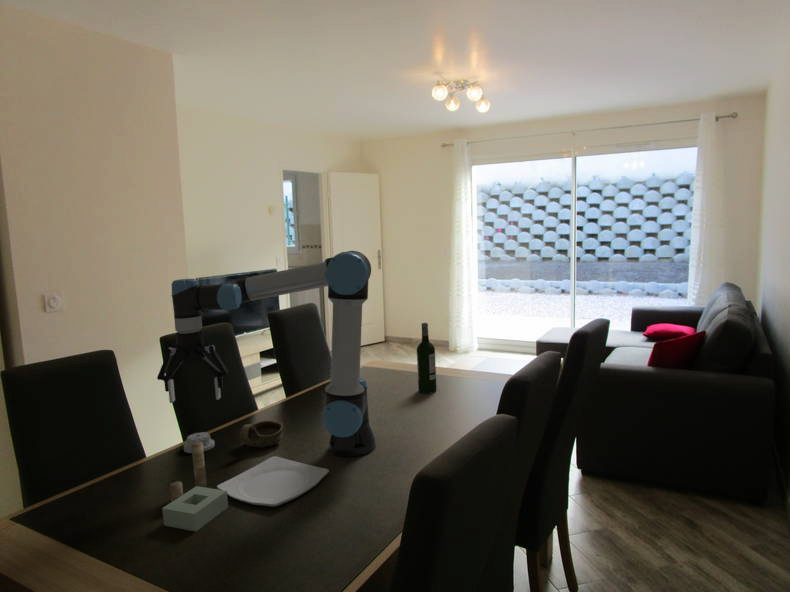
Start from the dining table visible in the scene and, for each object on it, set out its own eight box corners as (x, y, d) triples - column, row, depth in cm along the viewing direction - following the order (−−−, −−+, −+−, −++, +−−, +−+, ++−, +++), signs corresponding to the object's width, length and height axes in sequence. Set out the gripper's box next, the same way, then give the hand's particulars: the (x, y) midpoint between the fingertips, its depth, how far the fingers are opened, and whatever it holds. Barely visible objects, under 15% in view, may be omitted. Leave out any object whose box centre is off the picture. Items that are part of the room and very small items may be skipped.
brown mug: (293, 439, 185) (290, 411, 184) (260, 459, 169) (257, 429, 168) (261, 435, 191) (259, 408, 190) (227, 454, 175) (224, 425, 174)
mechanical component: (177, 453, 178) (204, 454, 176) (176, 440, 178) (203, 441, 176) (194, 442, 188) (220, 442, 186) (193, 429, 187) (219, 430, 185)
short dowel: (186, 503, 143) (184, 482, 142) (178, 509, 140) (176, 487, 140) (177, 501, 144) (175, 480, 144) (169, 507, 142) (167, 485, 141)
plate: (275, 517, 134) (274, 507, 134) (210, 496, 147) (210, 487, 147) (335, 477, 155) (335, 468, 155) (274, 461, 168) (273, 453, 168)
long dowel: (209, 485, 153) (204, 442, 151) (201, 490, 150) (197, 446, 148) (200, 484, 154) (196, 441, 152) (193, 489, 151) (189, 445, 150)
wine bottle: (437, 393, 229) (434, 324, 226) (418, 393, 229) (415, 325, 226) (436, 387, 237) (433, 321, 234) (418, 388, 237) (415, 322, 234)
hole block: (228, 507, 140) (226, 490, 139) (195, 531, 129) (194, 514, 128) (198, 501, 144) (196, 486, 143) (164, 525, 133) (162, 508, 132)
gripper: (234, 326, 163) (240, 393, 166) (150, 331, 161) (157, 399, 164) (228, 330, 156) (234, 400, 158) (141, 335, 154) (148, 406, 157)
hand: (195, 400), depth 161 cm, fingers open, 13 cm apart
